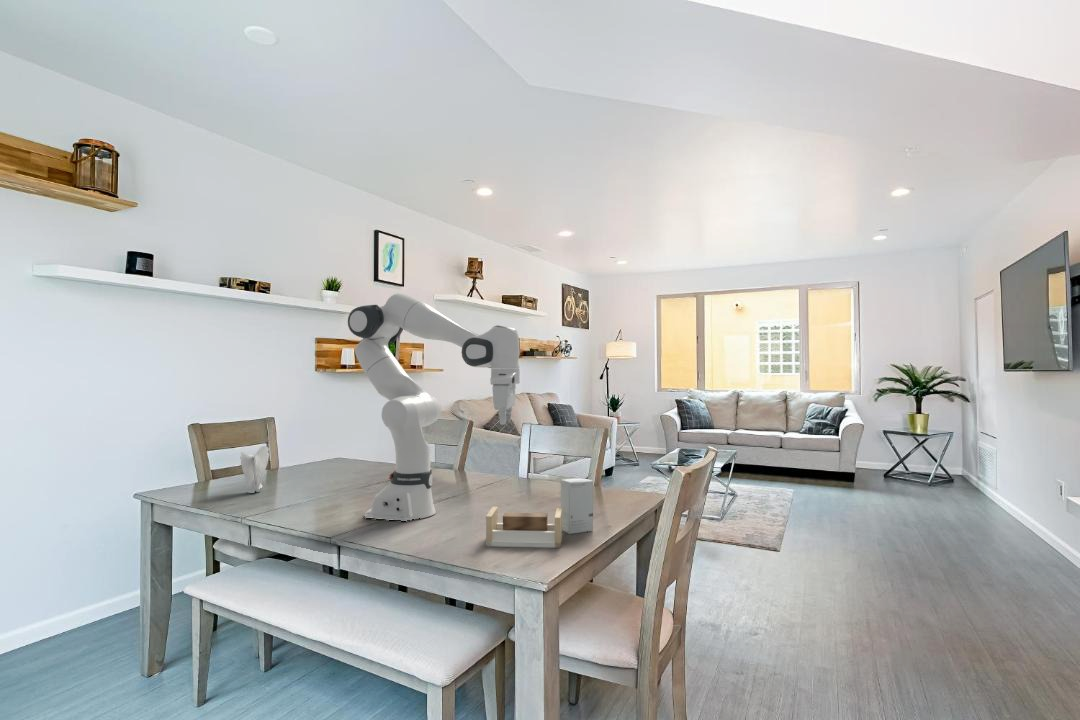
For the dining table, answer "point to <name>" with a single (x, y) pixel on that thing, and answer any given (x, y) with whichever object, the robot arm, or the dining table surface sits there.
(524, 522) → the brown wooden block
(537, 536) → the track
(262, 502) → the dining table surface
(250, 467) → the shell sculpture
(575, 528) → the skincare box
